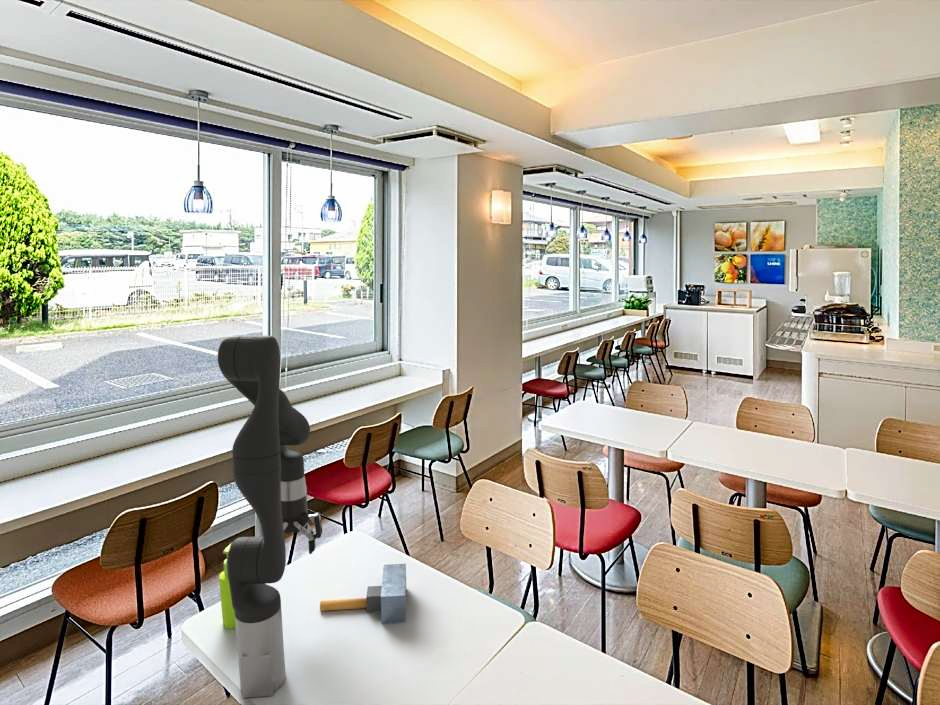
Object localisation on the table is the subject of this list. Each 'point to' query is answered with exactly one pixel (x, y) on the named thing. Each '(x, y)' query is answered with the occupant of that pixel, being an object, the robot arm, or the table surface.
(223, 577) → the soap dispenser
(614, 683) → the table surface
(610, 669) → the table surface
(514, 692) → the table surface
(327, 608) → the hammer
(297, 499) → the robot arm
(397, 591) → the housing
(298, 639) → the table surface
